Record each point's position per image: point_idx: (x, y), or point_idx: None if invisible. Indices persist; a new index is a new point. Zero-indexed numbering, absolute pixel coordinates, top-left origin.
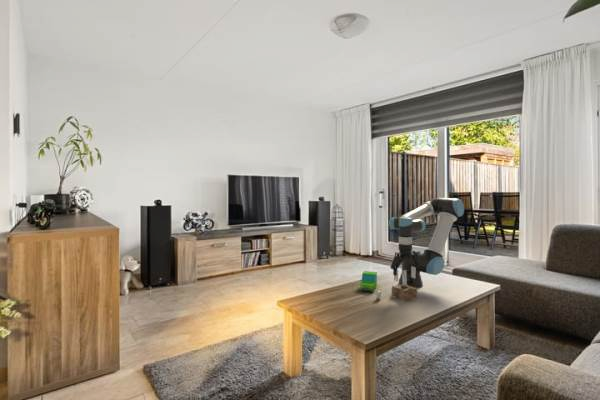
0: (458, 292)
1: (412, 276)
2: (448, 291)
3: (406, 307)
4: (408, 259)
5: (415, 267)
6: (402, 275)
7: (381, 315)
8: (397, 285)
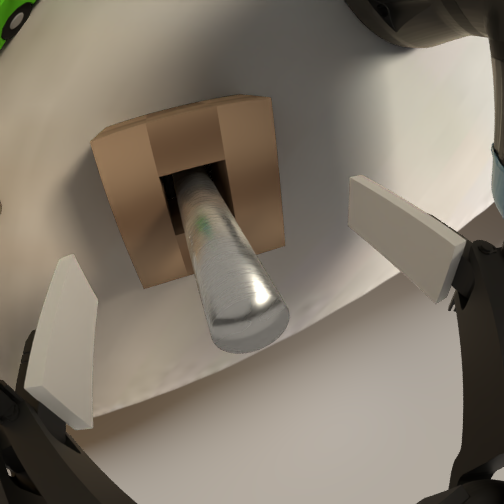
0: (462, 183)
1: (357, 202)
2: (452, 159)
3: (117, 325)
4: (497, 410)
5: (445, 297)
6: (194, 273)
7: (4, 370)
8: (159, 131)
